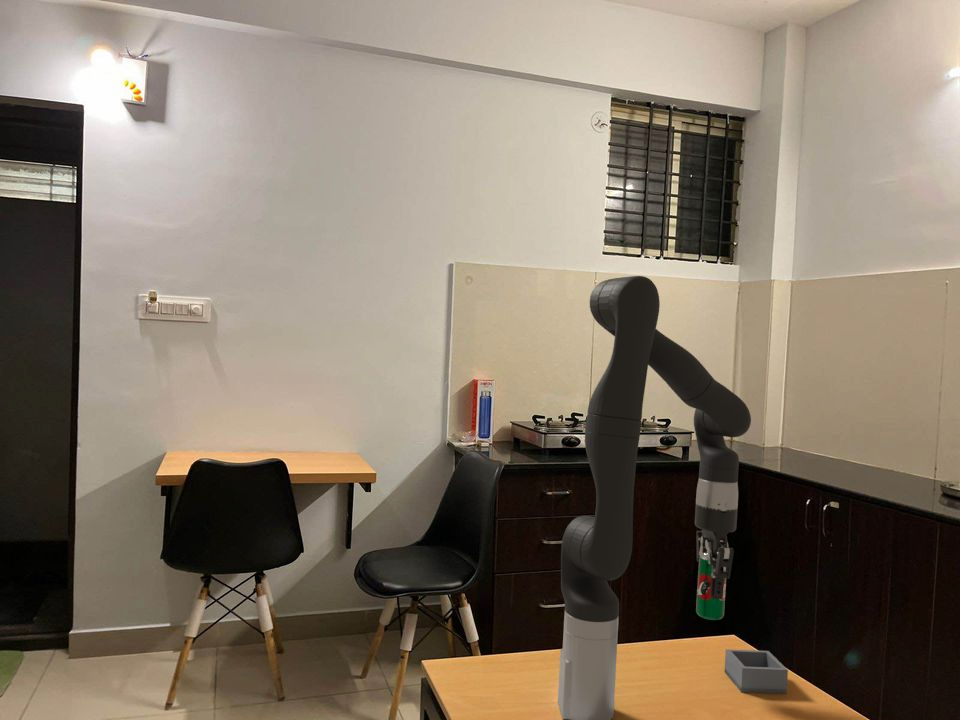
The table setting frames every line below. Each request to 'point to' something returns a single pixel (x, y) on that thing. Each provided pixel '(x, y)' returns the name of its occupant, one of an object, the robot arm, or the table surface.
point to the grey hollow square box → (756, 671)
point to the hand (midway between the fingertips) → (711, 592)
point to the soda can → (708, 592)
